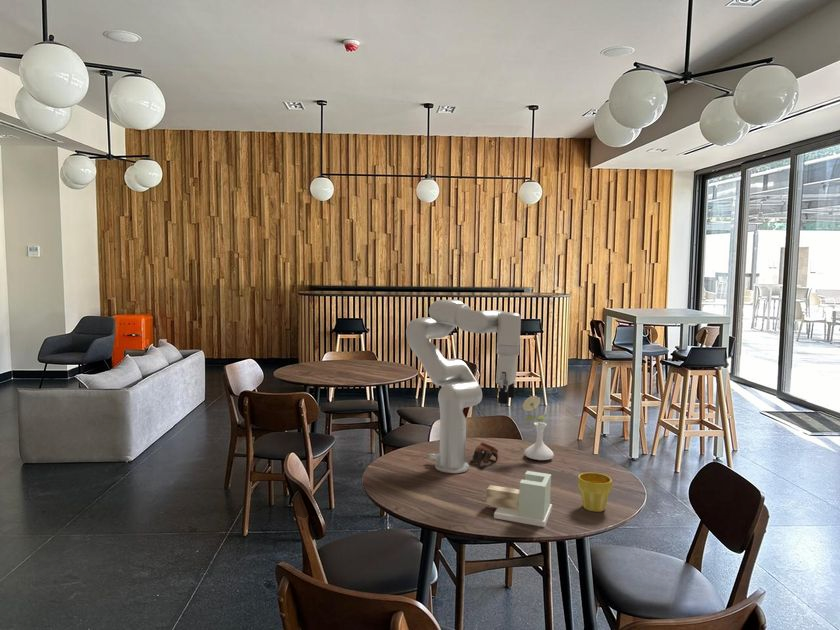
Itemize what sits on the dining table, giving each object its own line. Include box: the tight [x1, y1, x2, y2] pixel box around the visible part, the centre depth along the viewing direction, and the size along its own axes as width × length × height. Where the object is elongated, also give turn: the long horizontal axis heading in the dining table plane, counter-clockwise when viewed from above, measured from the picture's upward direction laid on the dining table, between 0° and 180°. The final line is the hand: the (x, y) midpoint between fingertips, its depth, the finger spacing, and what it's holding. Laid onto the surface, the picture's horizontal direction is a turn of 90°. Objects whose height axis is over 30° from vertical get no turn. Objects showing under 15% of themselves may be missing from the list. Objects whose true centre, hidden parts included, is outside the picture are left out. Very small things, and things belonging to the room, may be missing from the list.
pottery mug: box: [471, 442, 499, 466], centre depth 229 cm, size 12×9×8 cm
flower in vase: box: [521, 395, 555, 461], centre depth 235 cm, size 13×11×25 cm
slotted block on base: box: [493, 470, 553, 528], centre depth 183 cm, size 15×14×12 cm
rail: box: [486, 484, 520, 510], centre depth 184 cm, size 16×4×6 cm, turn 70°
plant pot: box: [577, 471, 613, 513], centre depth 188 cm, size 10×10×10 cm
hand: (506, 400), depth 200 cm, fingers open, 9 cm apart
